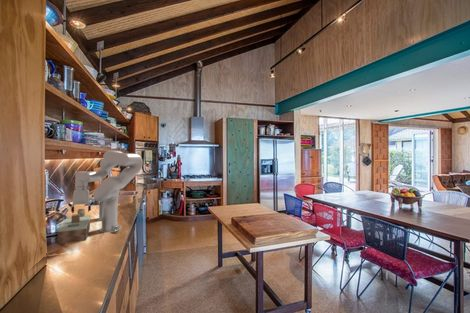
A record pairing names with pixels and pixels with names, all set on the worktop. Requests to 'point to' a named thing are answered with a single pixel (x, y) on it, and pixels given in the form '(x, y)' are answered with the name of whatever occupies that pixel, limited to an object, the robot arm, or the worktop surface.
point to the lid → (74, 223)
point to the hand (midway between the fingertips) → (81, 212)
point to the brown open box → (73, 235)
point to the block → (81, 212)
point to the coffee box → (100, 210)
